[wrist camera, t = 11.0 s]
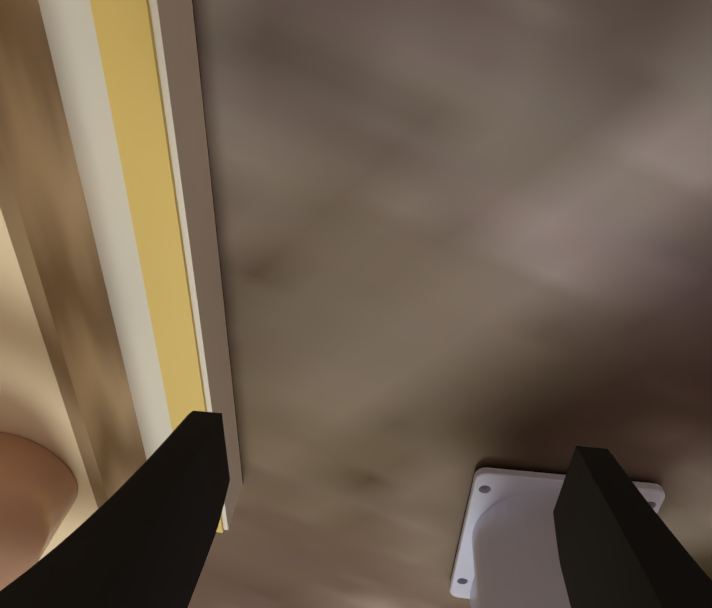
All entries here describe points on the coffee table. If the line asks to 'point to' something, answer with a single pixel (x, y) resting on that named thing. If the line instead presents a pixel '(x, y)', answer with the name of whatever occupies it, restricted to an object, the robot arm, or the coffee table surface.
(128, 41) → the dock
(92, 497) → the beige long bar
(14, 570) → the cylinder
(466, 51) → the coffee table surface
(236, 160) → the coffee table surface
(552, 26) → the coffee table surface
